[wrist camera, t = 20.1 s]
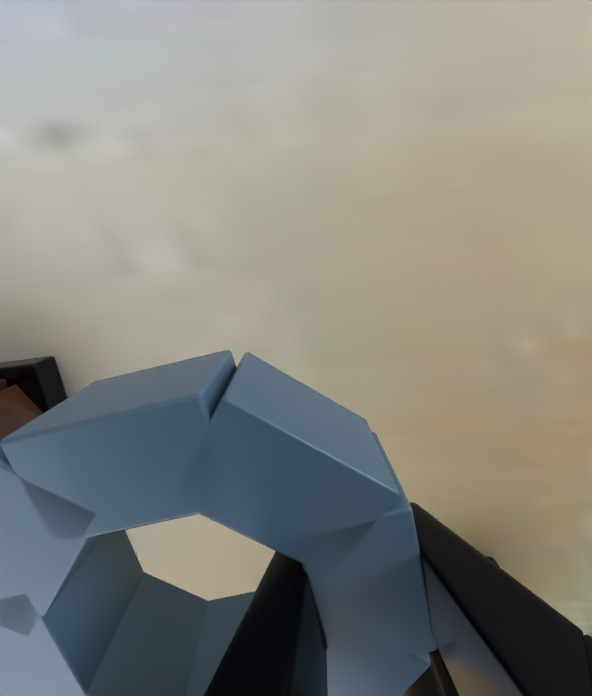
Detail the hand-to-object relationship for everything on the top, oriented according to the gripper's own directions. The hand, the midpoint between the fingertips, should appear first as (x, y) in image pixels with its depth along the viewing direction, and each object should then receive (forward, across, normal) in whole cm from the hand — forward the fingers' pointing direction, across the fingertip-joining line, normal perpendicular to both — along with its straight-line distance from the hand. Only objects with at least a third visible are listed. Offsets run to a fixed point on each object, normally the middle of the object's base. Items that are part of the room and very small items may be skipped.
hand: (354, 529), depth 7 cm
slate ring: (+1, +3, 0) cm, 3 cm away
